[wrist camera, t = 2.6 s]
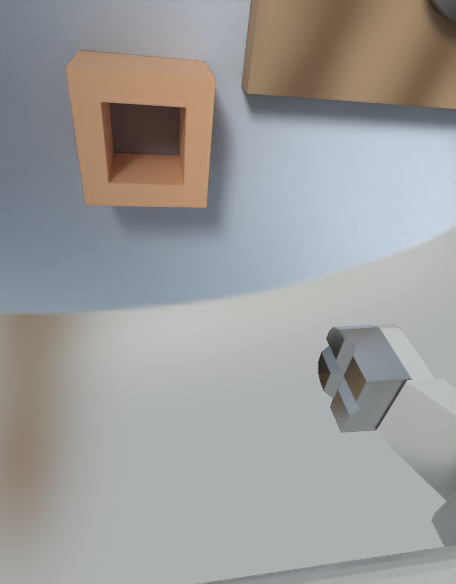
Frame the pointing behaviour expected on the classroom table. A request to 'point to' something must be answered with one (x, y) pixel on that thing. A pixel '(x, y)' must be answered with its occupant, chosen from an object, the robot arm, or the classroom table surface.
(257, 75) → the stand
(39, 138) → the classroom table surface
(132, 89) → the square frame block
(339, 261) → the classroom table surface
